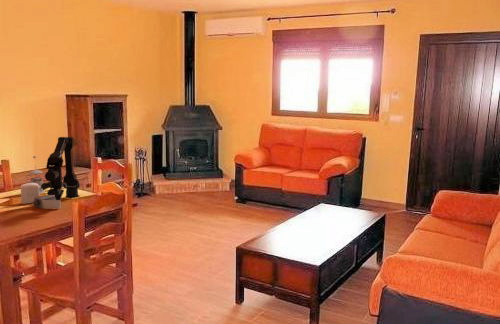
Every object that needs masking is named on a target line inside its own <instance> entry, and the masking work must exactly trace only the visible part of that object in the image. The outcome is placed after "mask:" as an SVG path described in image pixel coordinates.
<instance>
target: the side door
mask: <svg viewBox="0 0 500 324" xmlns="http://www.w3.org/2000/svg"><path fill="white" fill-rule="evenodd" d="M61 205H62V203H61V200H42V207H43V209H42V210H44V209H61V208H62V206H61Z"/></svg>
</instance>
